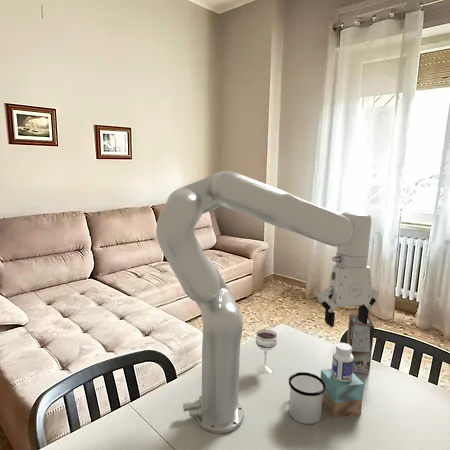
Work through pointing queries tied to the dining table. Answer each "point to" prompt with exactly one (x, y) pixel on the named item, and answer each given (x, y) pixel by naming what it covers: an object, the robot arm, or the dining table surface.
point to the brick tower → (342, 395)
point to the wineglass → (266, 346)
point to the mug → (306, 397)
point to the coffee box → (360, 343)
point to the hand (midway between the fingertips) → (346, 323)
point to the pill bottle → (342, 362)
